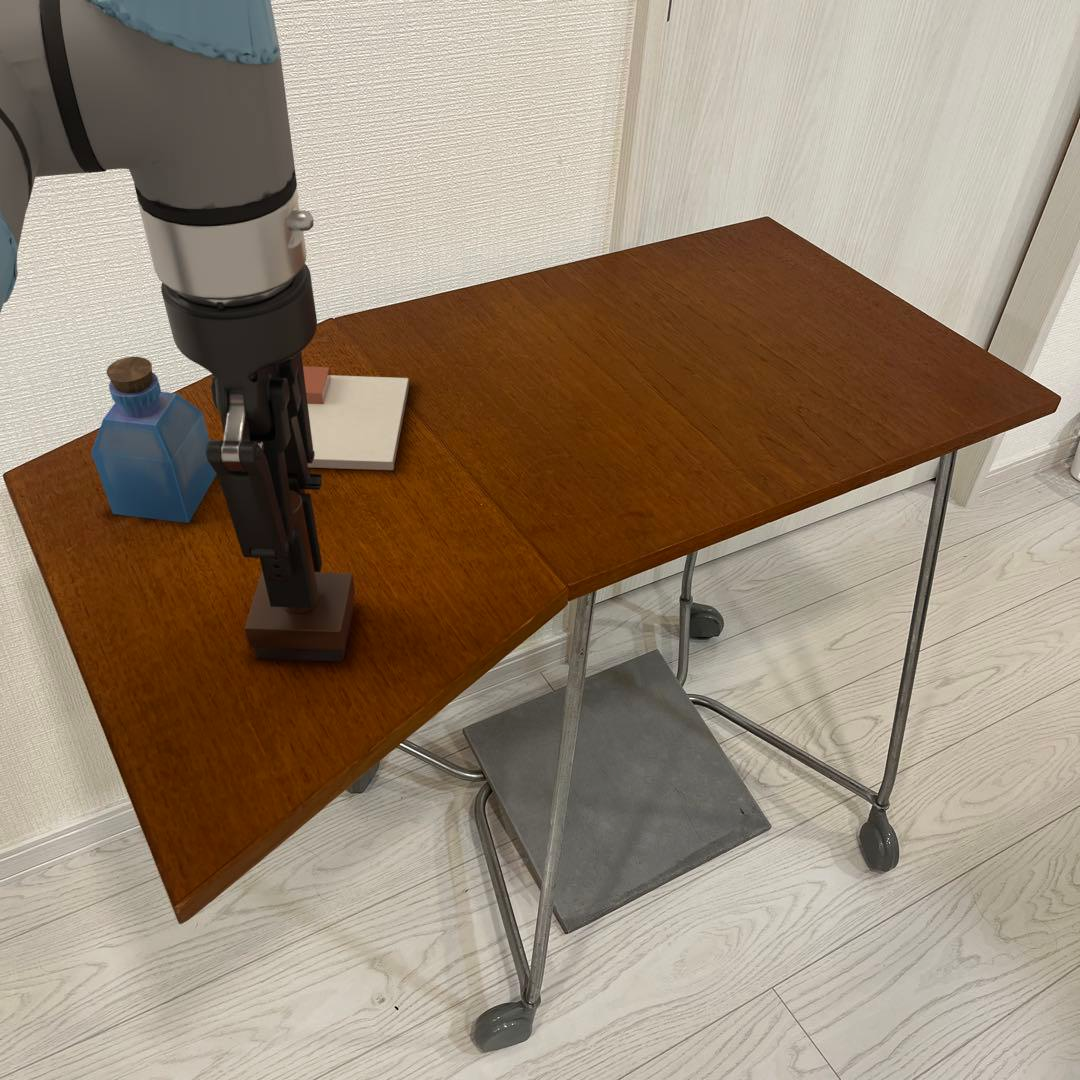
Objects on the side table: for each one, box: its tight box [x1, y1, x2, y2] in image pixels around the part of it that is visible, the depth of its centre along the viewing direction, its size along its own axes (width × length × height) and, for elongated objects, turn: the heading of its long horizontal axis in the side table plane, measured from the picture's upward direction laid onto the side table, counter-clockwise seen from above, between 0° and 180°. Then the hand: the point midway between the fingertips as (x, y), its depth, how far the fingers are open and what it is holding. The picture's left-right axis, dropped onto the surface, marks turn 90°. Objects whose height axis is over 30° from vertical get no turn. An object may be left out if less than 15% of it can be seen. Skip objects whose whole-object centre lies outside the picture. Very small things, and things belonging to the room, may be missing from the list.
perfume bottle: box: [91, 356, 218, 524], centre depth 78 cm, size 6×6×12 cm
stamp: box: [244, 490, 356, 663], centre depth 67 cm, size 6×5×12 cm
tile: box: [307, 374, 410, 471], centre depth 88 cm, size 12×12×1 cm
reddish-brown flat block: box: [303, 365, 332, 404], centre depth 90 cm, size 4×4×1 cm
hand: (296, 584), depth 68 cm, fingers closed on stamp, 3 cm apart
